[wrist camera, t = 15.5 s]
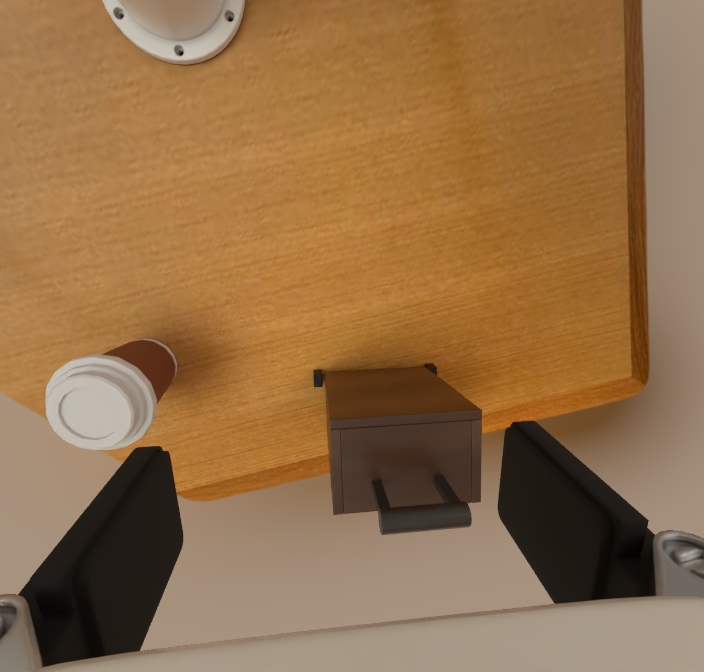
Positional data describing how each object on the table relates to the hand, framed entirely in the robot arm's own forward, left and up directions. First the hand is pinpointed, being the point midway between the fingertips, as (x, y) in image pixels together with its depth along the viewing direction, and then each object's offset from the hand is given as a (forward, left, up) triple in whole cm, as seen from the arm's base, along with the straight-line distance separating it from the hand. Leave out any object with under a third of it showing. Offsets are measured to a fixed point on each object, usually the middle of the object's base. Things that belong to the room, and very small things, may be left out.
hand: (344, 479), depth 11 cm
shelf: (+8, +6, -23) cm, 25 cm away
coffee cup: (+8, -20, -34) cm, 41 cm away
